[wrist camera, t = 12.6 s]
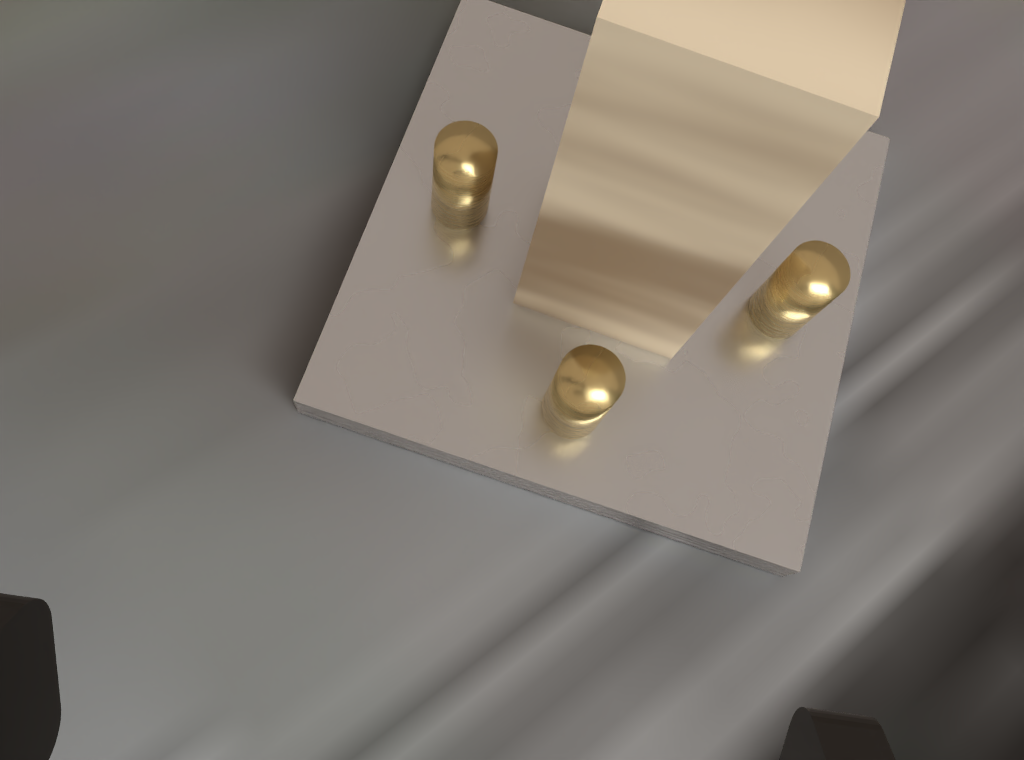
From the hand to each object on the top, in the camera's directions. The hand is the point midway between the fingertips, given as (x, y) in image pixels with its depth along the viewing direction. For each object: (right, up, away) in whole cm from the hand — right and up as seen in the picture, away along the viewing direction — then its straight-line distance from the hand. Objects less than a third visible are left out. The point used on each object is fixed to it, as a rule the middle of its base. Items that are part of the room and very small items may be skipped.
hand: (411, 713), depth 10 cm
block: (+4, +7, +12) cm, 14 cm away
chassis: (+4, +6, +13) cm, 15 cm away
